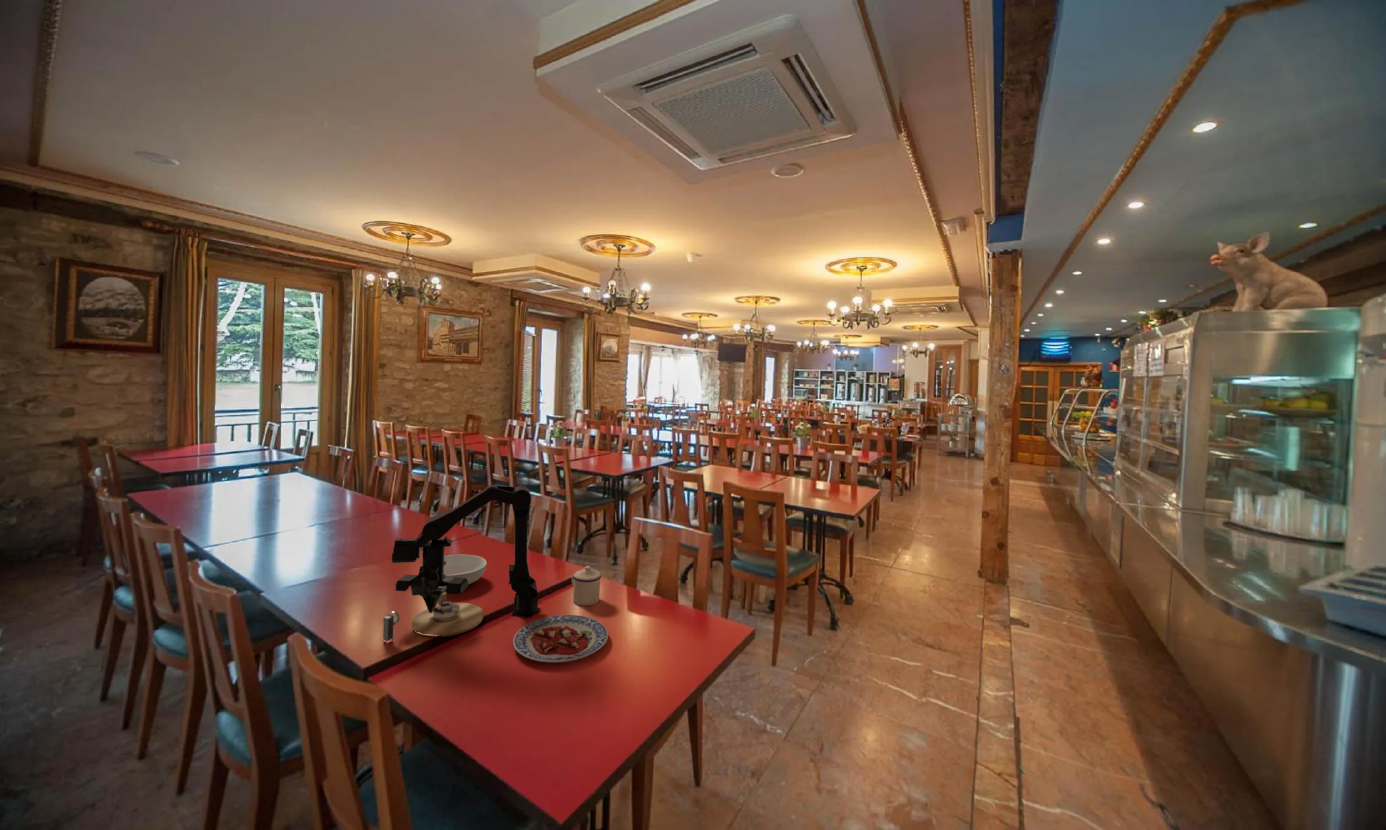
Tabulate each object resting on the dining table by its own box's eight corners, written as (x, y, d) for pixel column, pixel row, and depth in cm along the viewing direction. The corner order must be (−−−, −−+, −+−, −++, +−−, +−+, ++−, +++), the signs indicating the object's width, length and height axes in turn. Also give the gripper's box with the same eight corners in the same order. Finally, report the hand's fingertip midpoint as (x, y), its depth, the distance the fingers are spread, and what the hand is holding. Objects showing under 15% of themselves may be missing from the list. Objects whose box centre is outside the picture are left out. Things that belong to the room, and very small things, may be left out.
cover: (464, 614, 150) (465, 601, 150) (446, 624, 144) (446, 610, 143) (446, 609, 153) (446, 596, 152) (427, 619, 146) (427, 606, 146)
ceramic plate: (508, 674, 125) (509, 662, 125) (516, 625, 150) (516, 615, 150) (612, 664, 132) (612, 653, 132) (603, 618, 157) (603, 609, 157)
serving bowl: (469, 597, 166) (470, 577, 165) (407, 593, 166) (407, 573, 166) (495, 573, 187) (496, 555, 186) (440, 570, 187) (440, 552, 187)
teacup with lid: (605, 600, 169) (607, 566, 169) (584, 609, 162) (586, 574, 161) (581, 590, 177) (583, 557, 176) (561, 598, 169) (562, 564, 169)
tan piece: (497, 613, 154) (497, 598, 154) (449, 642, 136) (449, 625, 136) (443, 601, 161) (444, 585, 160) (391, 627, 143) (392, 610, 142)
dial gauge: (398, 640, 137) (399, 612, 137) (390, 644, 135) (391, 616, 134) (388, 637, 138) (389, 609, 138) (380, 641, 136) (381, 613, 135)
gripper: (384, 569, 139) (383, 623, 140) (453, 572, 139) (450, 627, 140) (406, 555, 150) (404, 606, 151) (469, 558, 150) (467, 609, 151)
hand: (431, 612), depth 148 cm, fingers closed
